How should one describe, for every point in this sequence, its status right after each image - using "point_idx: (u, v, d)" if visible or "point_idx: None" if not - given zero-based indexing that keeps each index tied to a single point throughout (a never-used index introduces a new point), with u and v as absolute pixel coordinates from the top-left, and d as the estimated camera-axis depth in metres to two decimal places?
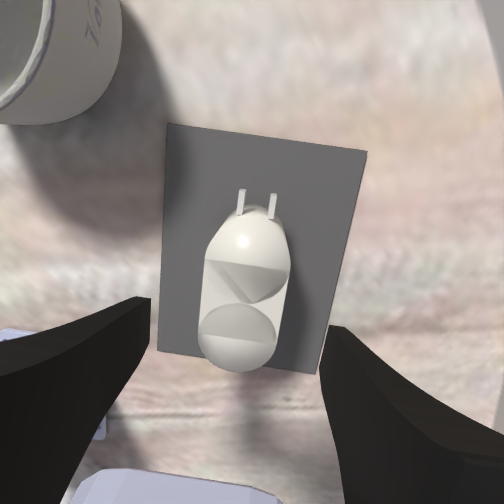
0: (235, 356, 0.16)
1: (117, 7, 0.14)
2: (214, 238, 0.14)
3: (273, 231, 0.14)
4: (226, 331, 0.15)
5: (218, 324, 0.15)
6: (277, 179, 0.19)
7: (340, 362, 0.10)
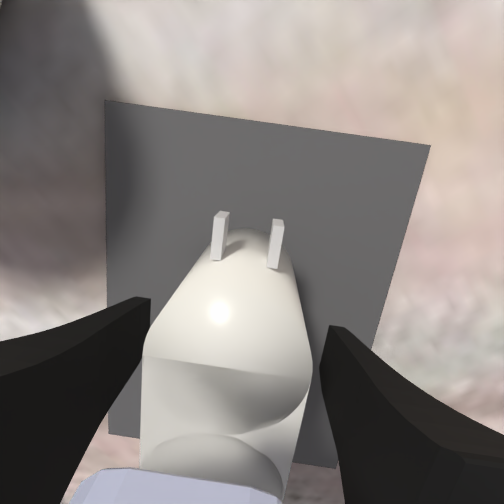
0: None
1: None
2: (159, 318, 0.07)
3: (278, 307, 0.07)
4: (191, 476, 0.08)
5: (175, 465, 0.08)
6: (283, 191, 0.12)
7: (340, 362, 0.10)
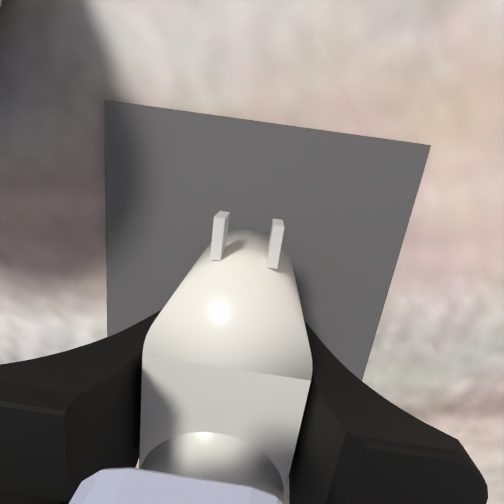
0: None
1: None
2: (159, 318, 0.07)
3: (278, 307, 0.07)
4: (191, 476, 0.08)
5: (175, 464, 0.08)
6: (283, 191, 0.12)
7: None
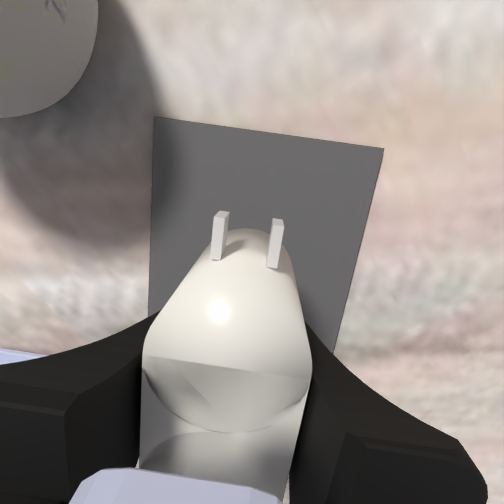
0: None
1: None
2: (159, 318, 0.07)
3: (278, 306, 0.07)
4: (191, 475, 0.08)
5: (175, 464, 0.08)
6: (280, 181, 0.16)
7: None
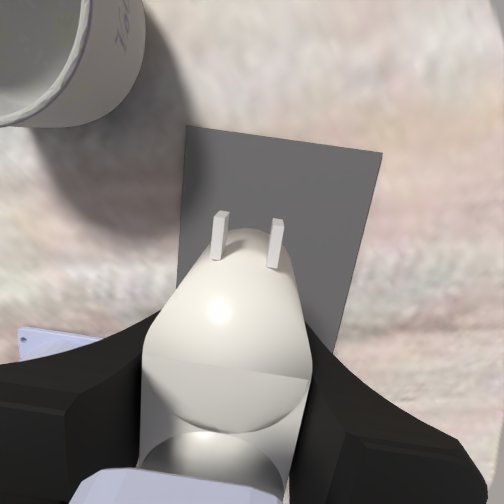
0: None
1: (142, 13, 0.15)
2: (159, 318, 0.07)
3: (278, 306, 0.07)
4: (191, 476, 0.08)
5: (174, 464, 0.08)
6: (293, 180, 0.19)
7: None
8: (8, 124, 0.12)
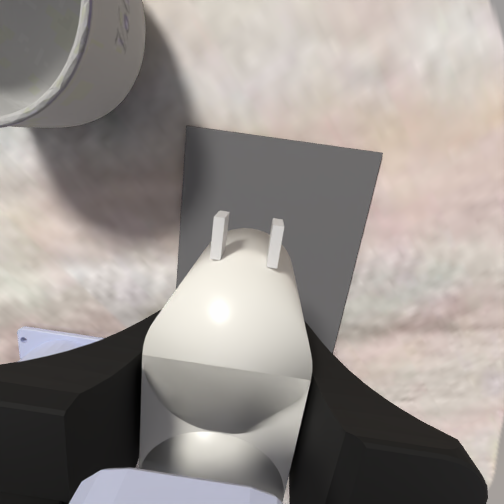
0: None
1: (142, 13, 0.15)
2: (159, 318, 0.07)
3: (278, 306, 0.07)
4: (191, 476, 0.08)
5: (174, 464, 0.08)
6: (293, 180, 0.19)
7: None
8: (8, 124, 0.12)
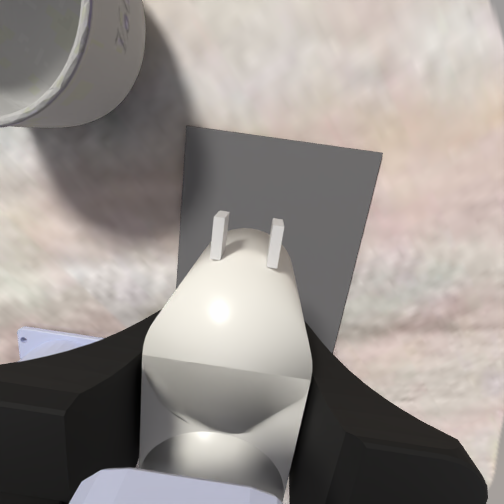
0: None
1: (142, 13, 0.15)
2: (159, 318, 0.07)
3: (278, 306, 0.07)
4: (191, 476, 0.08)
5: (174, 464, 0.08)
6: (293, 180, 0.19)
7: None
8: (8, 124, 0.12)
